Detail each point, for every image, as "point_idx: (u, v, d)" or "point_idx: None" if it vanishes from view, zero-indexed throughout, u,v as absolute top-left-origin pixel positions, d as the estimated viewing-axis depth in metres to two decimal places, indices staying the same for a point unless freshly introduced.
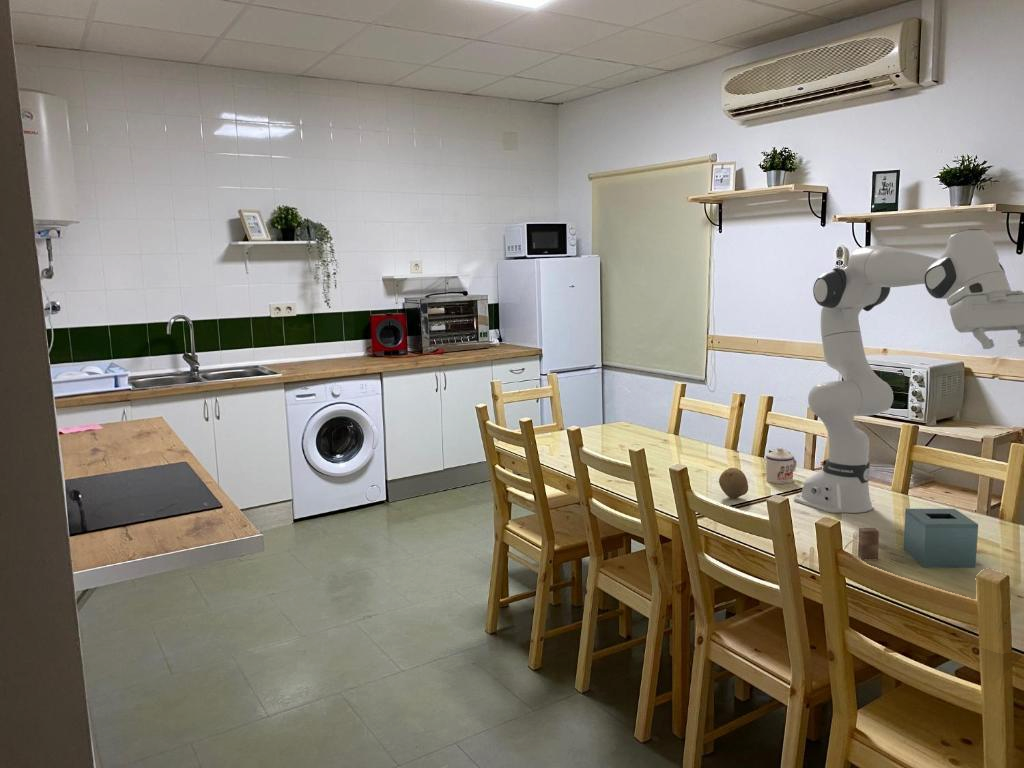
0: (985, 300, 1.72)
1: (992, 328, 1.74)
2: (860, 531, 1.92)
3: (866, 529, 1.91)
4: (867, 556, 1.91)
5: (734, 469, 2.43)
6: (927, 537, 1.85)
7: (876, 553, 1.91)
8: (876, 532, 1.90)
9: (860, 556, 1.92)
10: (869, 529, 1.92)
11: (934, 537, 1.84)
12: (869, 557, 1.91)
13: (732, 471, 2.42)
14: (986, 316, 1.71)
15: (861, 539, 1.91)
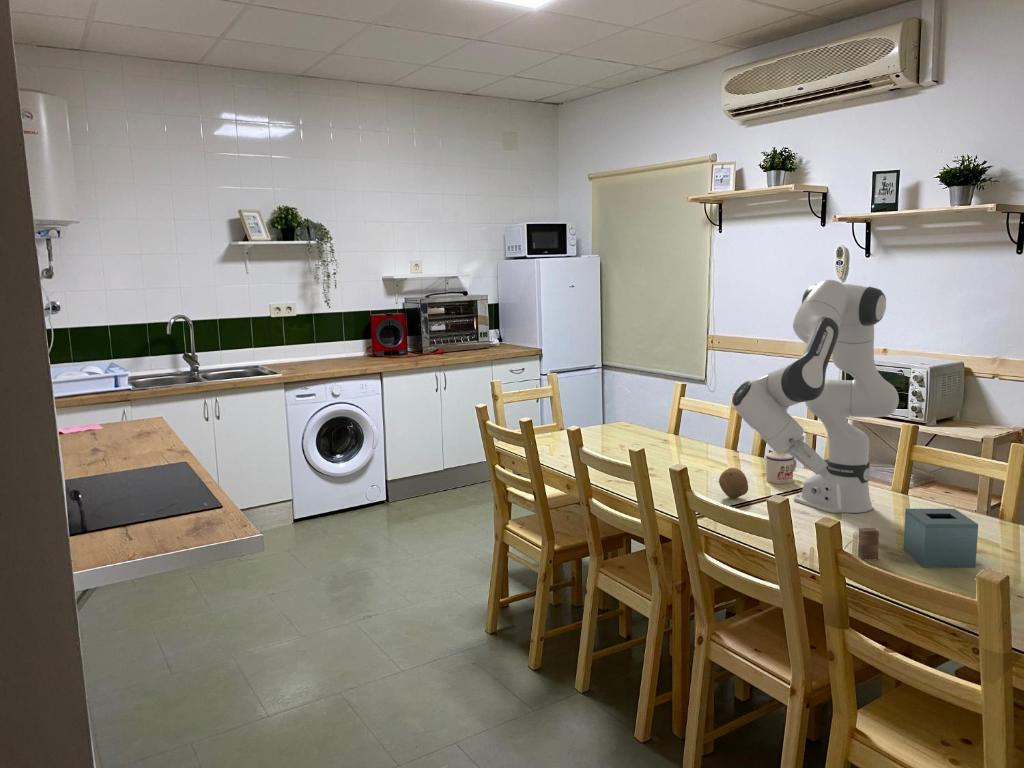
0: None
1: (811, 455, 1.91)
2: (860, 531, 1.92)
3: (866, 529, 1.91)
4: (867, 556, 1.91)
5: (734, 469, 2.43)
6: (927, 537, 1.85)
7: (876, 553, 1.91)
8: (876, 532, 1.90)
9: (860, 556, 1.92)
10: (869, 529, 1.92)
11: (934, 537, 1.84)
12: (869, 557, 1.91)
13: (732, 471, 2.42)
14: None
15: (861, 539, 1.91)
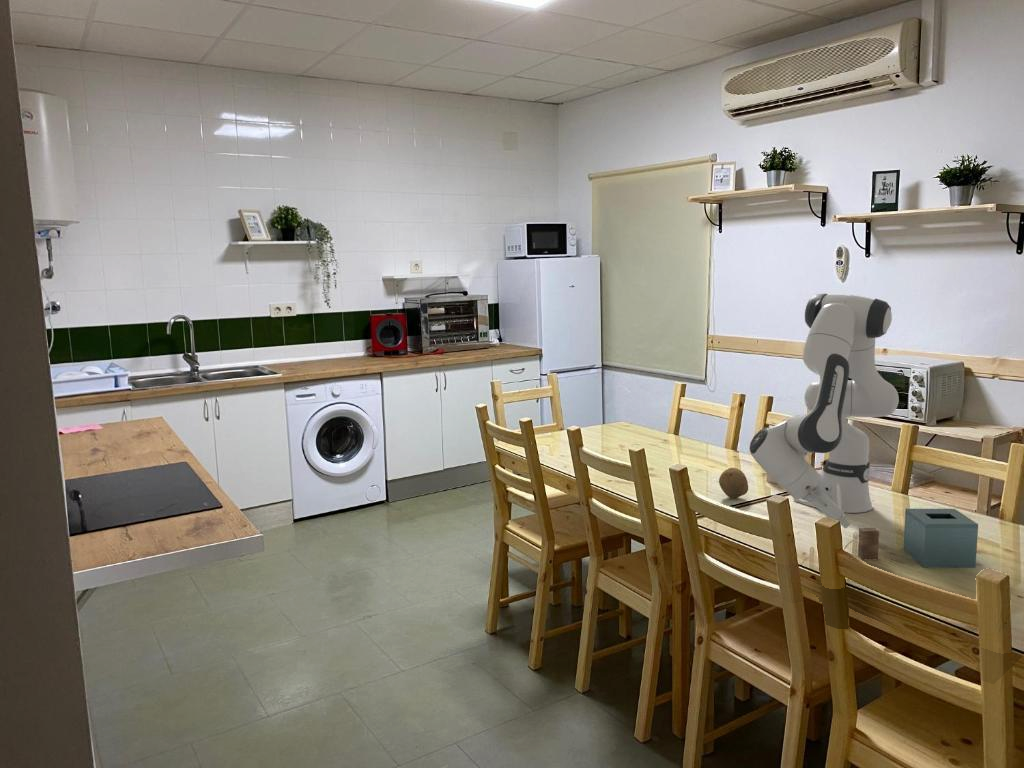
0: None
1: None
2: (860, 531, 1.92)
3: (866, 529, 1.91)
4: (867, 556, 1.91)
5: (734, 469, 2.43)
6: (927, 537, 1.85)
7: (876, 553, 1.91)
8: (876, 532, 1.90)
9: (860, 556, 1.92)
10: (869, 529, 1.92)
11: (934, 537, 1.84)
12: (869, 557, 1.91)
13: (732, 471, 2.42)
14: None
15: (861, 539, 1.91)
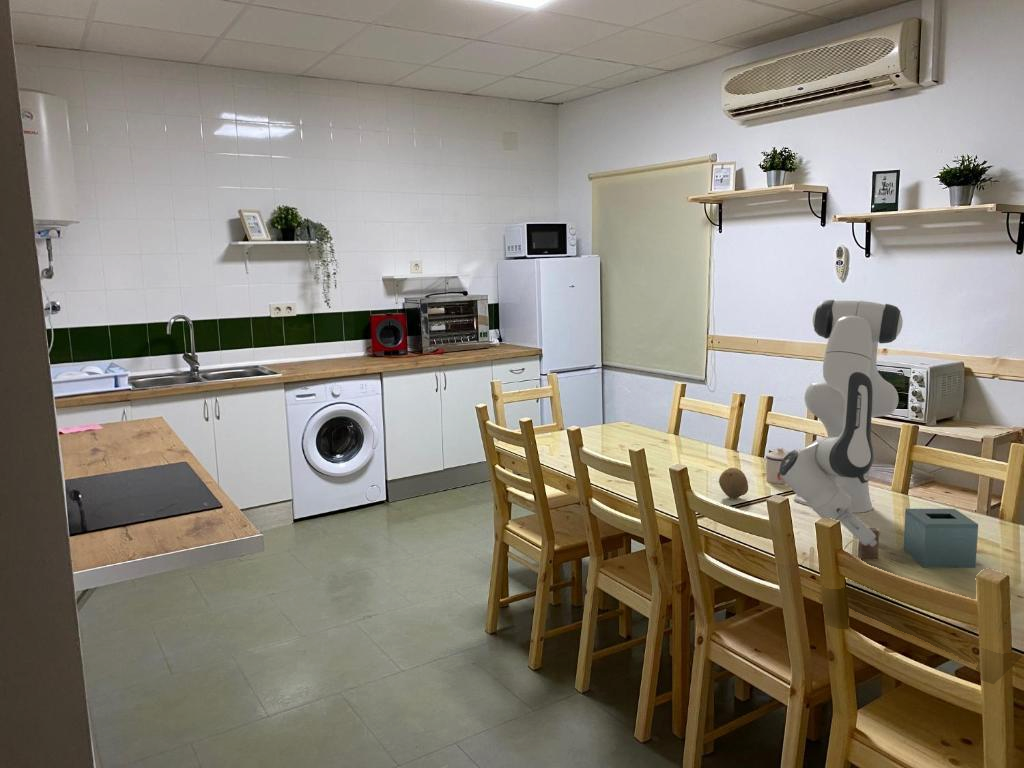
0: None
1: None
2: None
3: None
4: (867, 556, 1.91)
5: (734, 469, 2.43)
6: (927, 537, 1.85)
7: (876, 553, 1.91)
8: (876, 532, 1.90)
9: (860, 556, 1.92)
10: None
11: (934, 537, 1.84)
12: (869, 557, 1.91)
13: (732, 471, 2.42)
14: None
15: None
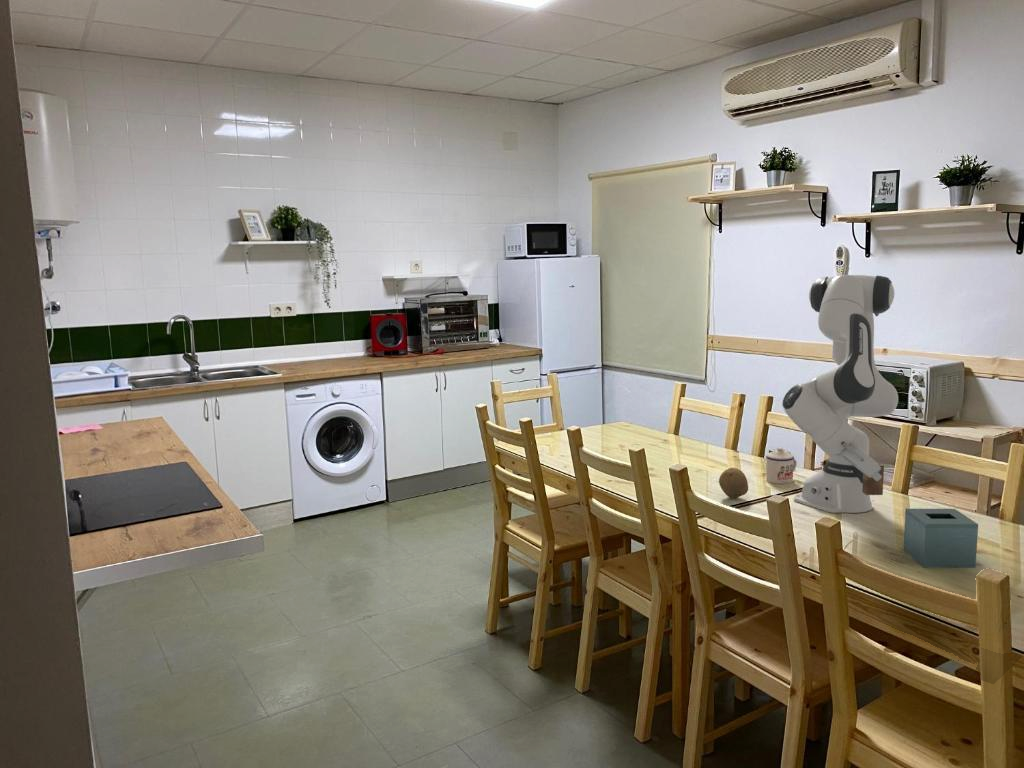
0: None
1: None
2: None
3: None
4: (872, 491, 1.89)
5: (734, 469, 2.43)
6: (927, 537, 1.85)
7: (881, 488, 1.89)
8: (881, 467, 1.88)
9: (864, 491, 1.90)
10: None
11: (934, 537, 1.84)
12: (874, 492, 1.89)
13: (732, 471, 2.42)
14: (844, 458, 1.94)
15: None
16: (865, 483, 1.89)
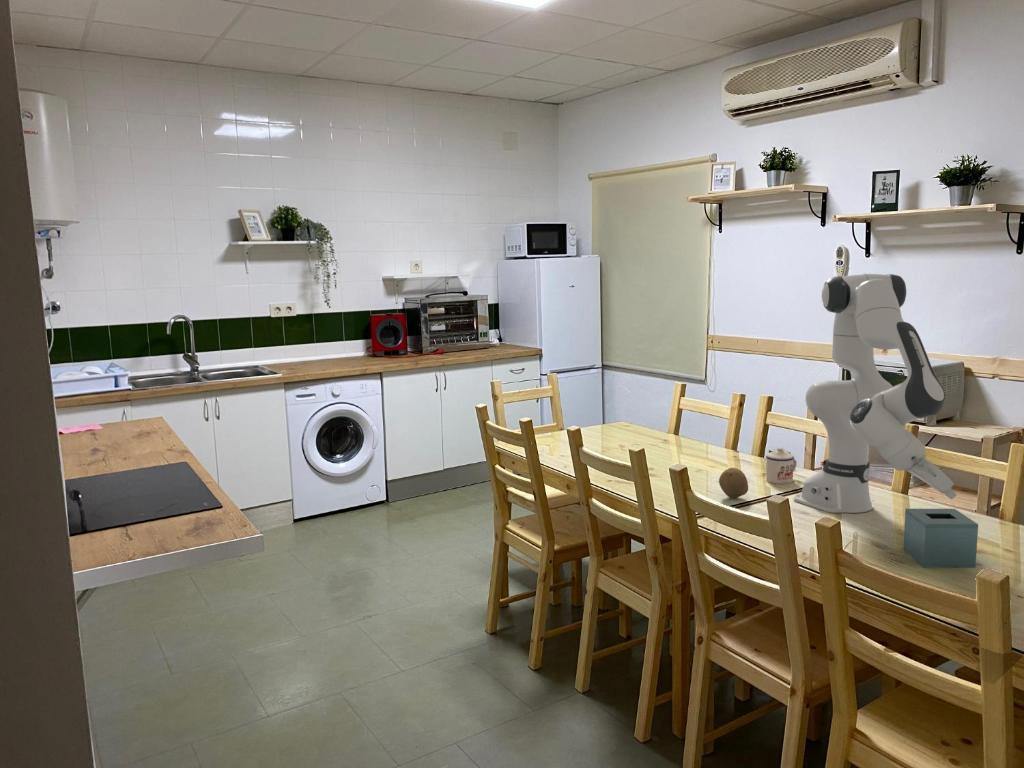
0: None
1: None
2: None
3: None
4: None
5: (734, 469, 2.43)
6: (927, 537, 1.85)
7: None
8: None
9: None
10: None
11: (934, 537, 1.84)
12: None
13: (732, 471, 2.42)
14: (911, 472, 1.93)
15: None
16: None
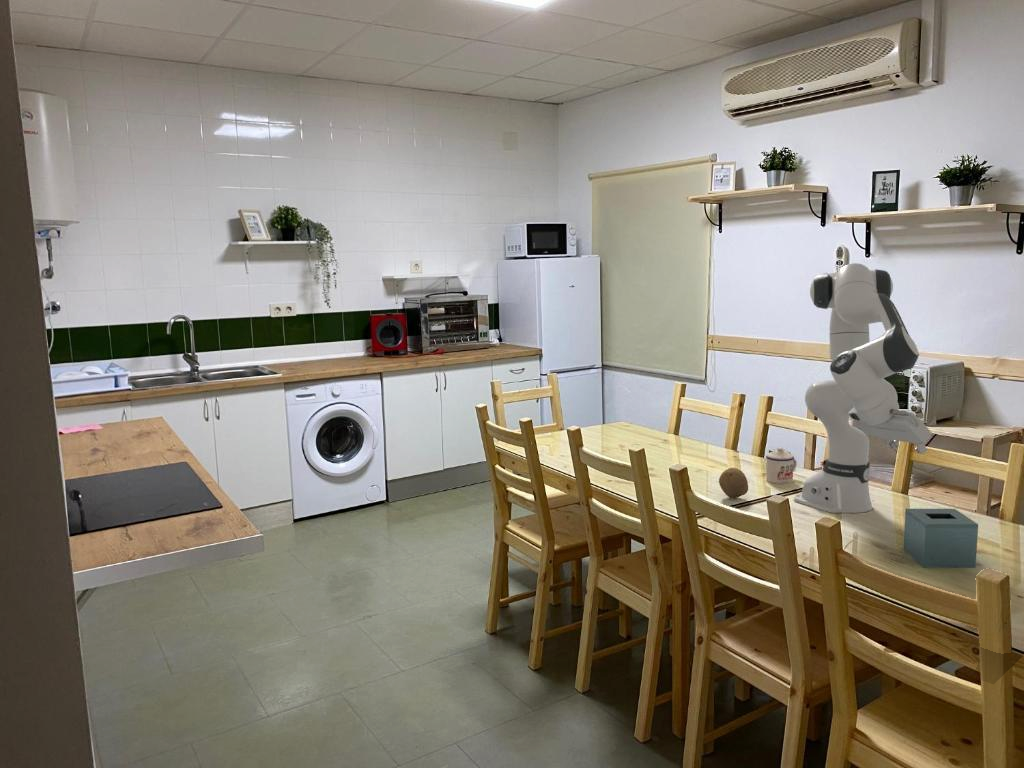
0: None
1: None
2: None
3: None
4: None
5: (734, 469, 2.43)
6: (927, 537, 1.85)
7: None
8: None
9: None
10: None
11: (934, 537, 1.84)
12: None
13: (732, 471, 2.42)
14: (876, 432, 1.93)
15: None
16: None
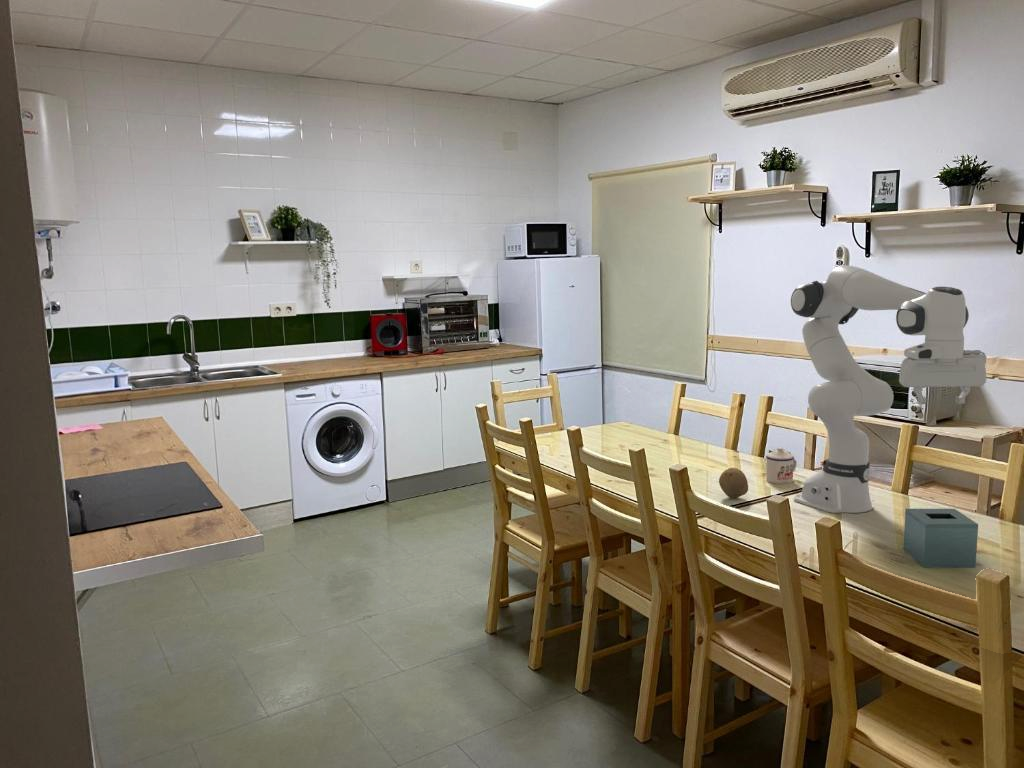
0: (932, 364, 1.94)
1: None
2: None
3: None
4: None
5: (734, 469, 2.43)
6: (927, 537, 1.85)
7: None
8: None
9: None
10: None
11: (934, 537, 1.84)
12: None
13: (732, 471, 2.42)
14: (927, 378, 1.95)
15: None
16: None
